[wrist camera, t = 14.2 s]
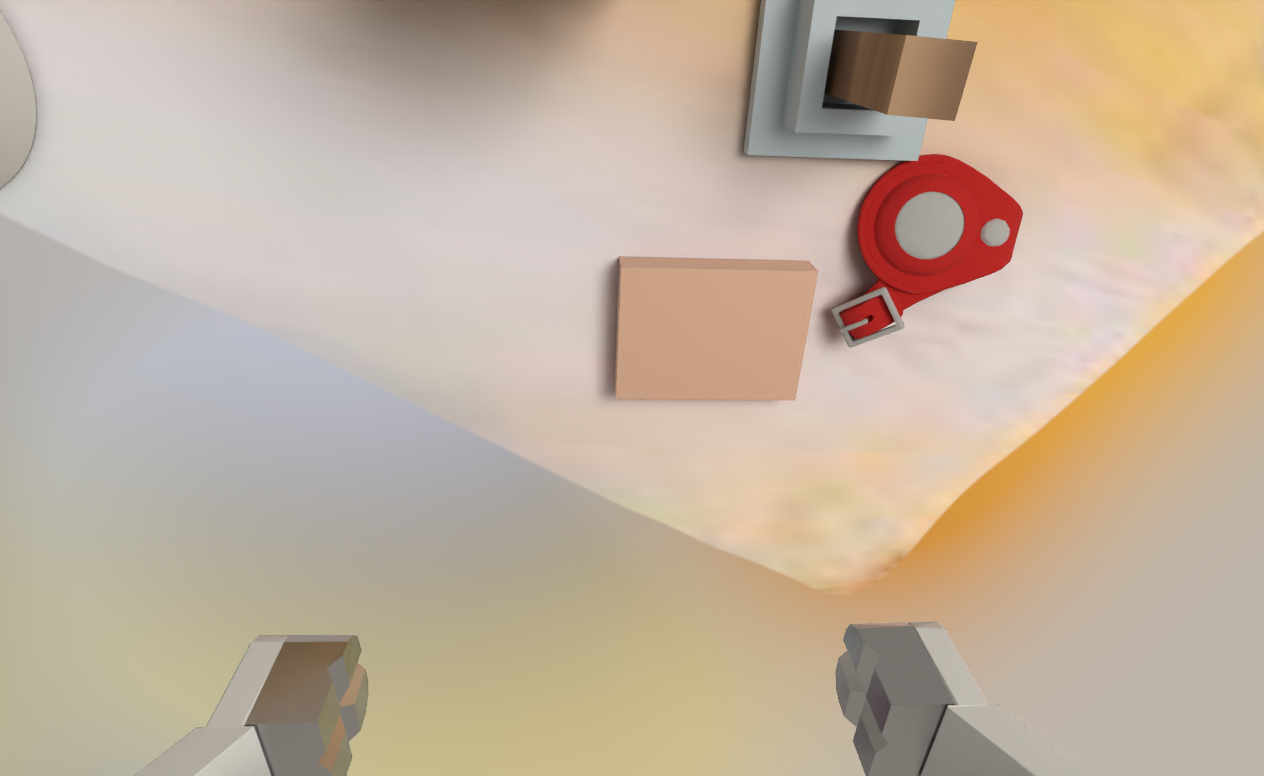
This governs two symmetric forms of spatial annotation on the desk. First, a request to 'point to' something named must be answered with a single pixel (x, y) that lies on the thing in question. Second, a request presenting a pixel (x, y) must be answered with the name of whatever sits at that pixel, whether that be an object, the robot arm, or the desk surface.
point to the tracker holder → (926, 239)
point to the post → (899, 73)
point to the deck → (711, 328)
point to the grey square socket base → (797, 71)
